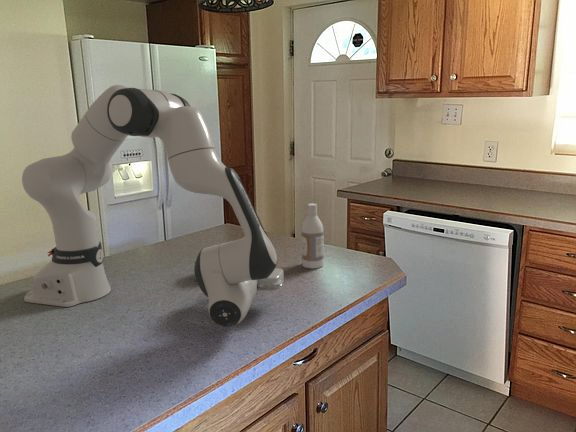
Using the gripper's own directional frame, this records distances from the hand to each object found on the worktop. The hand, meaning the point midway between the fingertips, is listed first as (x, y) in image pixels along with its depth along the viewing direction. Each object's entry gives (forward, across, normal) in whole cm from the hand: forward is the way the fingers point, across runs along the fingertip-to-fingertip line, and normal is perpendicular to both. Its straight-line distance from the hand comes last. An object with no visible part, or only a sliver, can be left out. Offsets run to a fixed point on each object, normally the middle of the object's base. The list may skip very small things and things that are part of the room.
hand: (249, 267), depth 136 cm
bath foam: (+23, -16, +8) cm, 29 cm away
